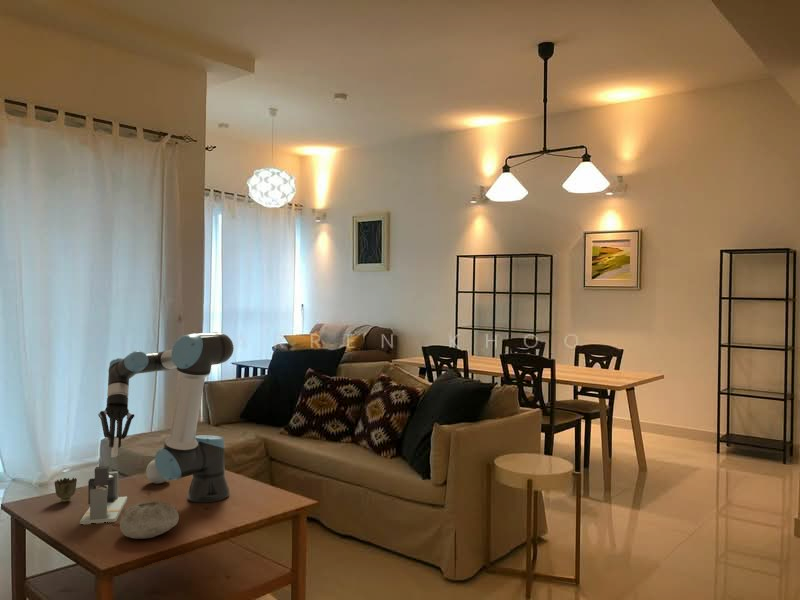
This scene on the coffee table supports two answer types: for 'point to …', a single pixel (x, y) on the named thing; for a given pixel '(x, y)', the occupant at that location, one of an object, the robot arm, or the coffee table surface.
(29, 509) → the coffee table surface
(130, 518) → the grey stone
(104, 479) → the collar
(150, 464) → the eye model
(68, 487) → the cup
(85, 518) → the pipe stand
